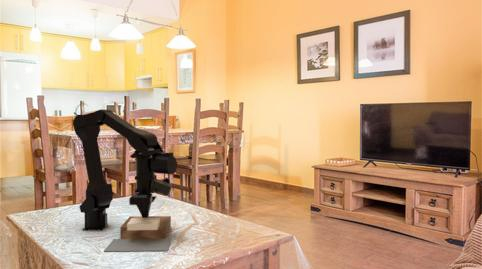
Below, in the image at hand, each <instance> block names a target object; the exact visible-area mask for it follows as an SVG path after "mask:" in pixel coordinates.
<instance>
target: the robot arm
mask: <svg viewBox="0 0 482 269" xmlns="http://www.w3.org/2000/svg"><path fill="white" fill-rule="evenodd" d="M104 125H106V126H107V127H108V128H110V129H111V130H113V131H114V132H116V133H118V134H119V135H120V136H122V137H124V138H125V139H126V140H127V142H128V144H129V146H130V147H132V148H133V150H134V152H133V153H132V154H131V155H130V156H129V157H130V158H131V159H135V167H136V168H135V171H136V172H135V173H136V174H135V176H134V180H135V181H136V186H135V189H134V194H132V195H131V196H130V197H129V199H128V200H129V202H128V203H129V205H130V206H136V208H137V209H138V211H139V213H140V216H142V217H143V218H148V216H149V215H150V212H151V211H150V210H151V206H152V204H153V203H154V201H155V200H156V199H157V196H156V195H155V196H153V194H154V193H156V194H159V193H160V194H162V195H163V196H169V195H170V193H171V191H172V188H173V185H174V184H173V183H172V182H171V179H170V178H169V177H165V178H164V179H159V178H157V174H162V175H163V174H164V175H174V174H175V173H176V171H177V169H178V161H177V158H176V157H175V156H174V152H170V151H169V152H165V150H164V149H163V148H162V146H161V144H160V143H159V141H158V137H157V135H156V134H154V133H152V132H150V131H148V130H145V129H140V128H138V127H136V126H134V125H133V124H131V123H130V122H128V121H127V120H125V119H123V118H121V117H120V115H118V114H116V113H114V111H112V110H111V109H98V110H95V111H92V112H89V113H85V114H77V115H76V116H75V117H74V118H73V120H72V126H73V129H74V133H75V135H76V136H77V137H78V138H79V140H80V141H81V143H82V145H81V146H82V150H83V155H84V162H85V166H86V172H87V178H88V179H87V180H88V184H87V187H86V190H85V199H84V200H83V201H82V203H81V204H80V205H79V206H78V207H79V211H80V213H82V214H84V227H83V228H82V231H103V230H104V229H105V228H106V227H107V226H108V213H107V209H109V208H110V206H111V203H112V201H113V200H114V197H113V196H114V195H115V193H114V191H113V185H112V183H108V182H107V181H106V180H105V175H104V171H103V165H102V159H101V153H100V147H99V143H98V142H99V141H98V138H99V136H100V132H101V126H104Z"/></svg>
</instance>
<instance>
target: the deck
mask: <svg viewBox="0 0 482 269" xmlns="http://www.w3.org/2000/svg"><path fill="white" fill-rule="evenodd" d="M131 218H143V217H142V215H139V216H131V215H130V216H129V217H128V218H127V219H126V220H125V221H124V223H123V224H122V225H121V226H120V228H119V229H120V231H119V232H120V235H119V237H120V238H119V239H157V238H167V237H168V235H169V233H170V230H171V227H172V226H171V225H172V223H171V221H172V218H171V216H170V215H166V216H165V215H163V216H162V215H161V216H160V215H159V216H158V215H156V216H155V215H153V216H151V215H150V216H148V218H160V225H159V227H158V229H157V230H127V224H128V222H129V221H130V219H131Z"/></svg>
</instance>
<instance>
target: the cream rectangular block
mask: <svg viewBox="0 0 482 269" xmlns="http://www.w3.org/2000/svg"><path fill="white" fill-rule="evenodd" d="M159 225H160V218H131V219H130V221H129V222H128V224H127V230H157V229H158V227H159Z"/></svg>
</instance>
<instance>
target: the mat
mask: <svg viewBox="0 0 482 269" xmlns="http://www.w3.org/2000/svg"><path fill="white" fill-rule="evenodd" d="M172 240H173V238H169V237H168V238H167V237H166V238H157V239H120V238H114V239H113V240H112V241H110V242H109V244H108V245H107V247H106V248H105V249H104V250H103V253H122V252H123V253H131V252H133V253H134V252H135V253H137V252H138V253H139V252H140V253H141V252H168V250H169V249H170V246H171V242H173V241H172Z"/></svg>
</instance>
